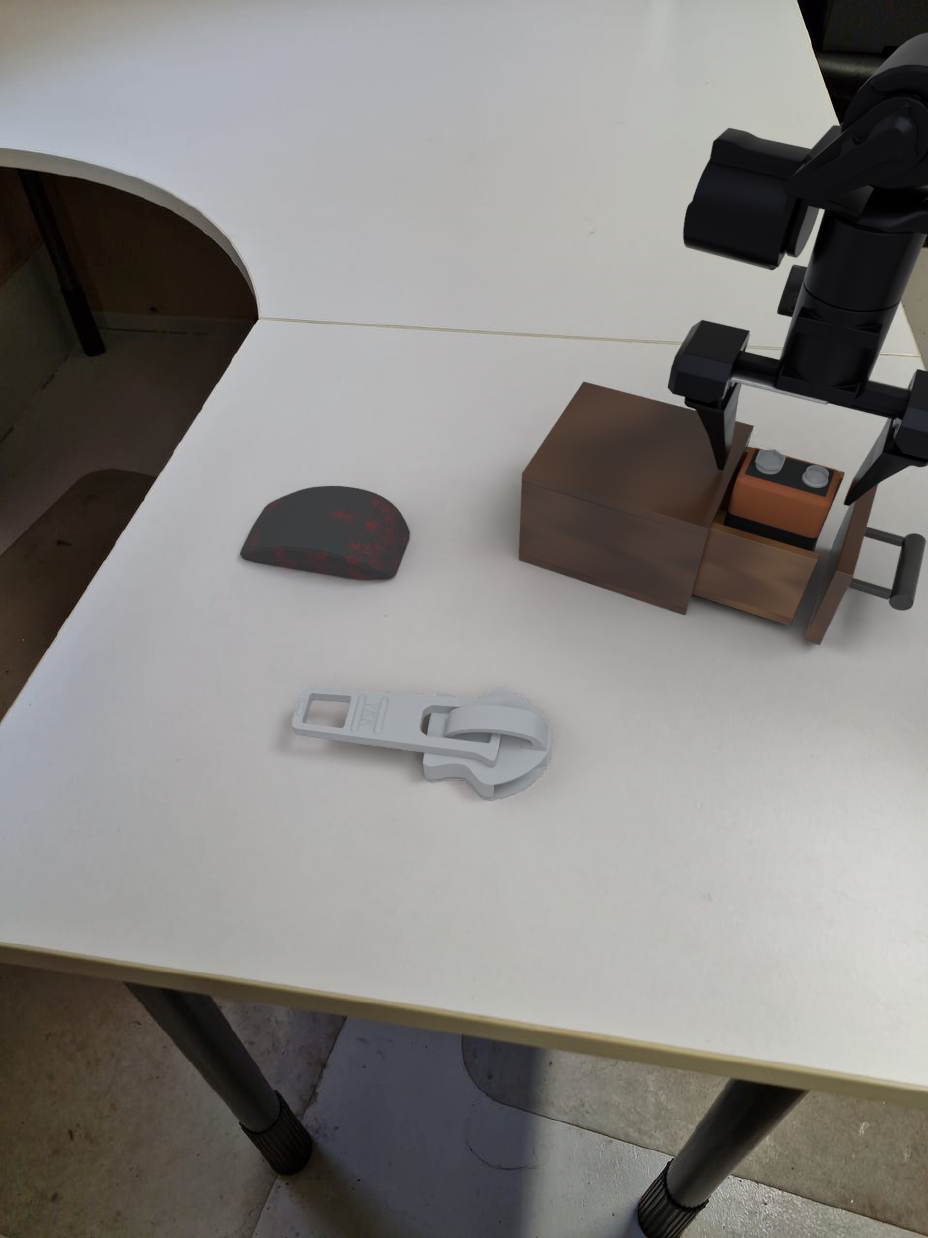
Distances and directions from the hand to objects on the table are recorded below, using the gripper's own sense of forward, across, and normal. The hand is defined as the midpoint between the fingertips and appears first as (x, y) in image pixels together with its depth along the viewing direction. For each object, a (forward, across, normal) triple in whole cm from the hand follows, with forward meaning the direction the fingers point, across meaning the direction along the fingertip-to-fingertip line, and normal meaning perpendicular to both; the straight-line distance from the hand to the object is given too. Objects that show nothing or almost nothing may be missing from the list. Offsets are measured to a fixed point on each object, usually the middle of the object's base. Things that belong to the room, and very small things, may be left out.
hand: (783, 484), depth 64 cm
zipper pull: (+10, +17, +26) cm, 33 cm away
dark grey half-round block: (+10, +34, +12) cm, 37 cm away
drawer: (+9, -2, 0) cm, 9 cm away
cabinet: (+10, +11, 0) cm, 15 cm away
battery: (+8, 0, 0) cm, 8 cm away
